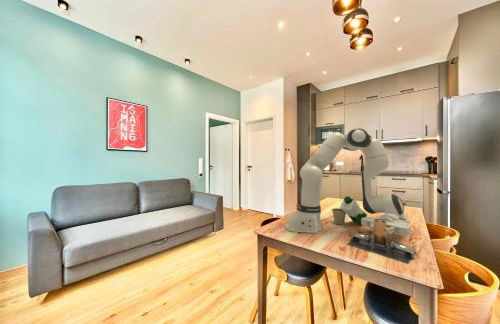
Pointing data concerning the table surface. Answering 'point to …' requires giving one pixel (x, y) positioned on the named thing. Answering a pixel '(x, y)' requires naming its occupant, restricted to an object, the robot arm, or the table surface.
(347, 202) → the milk carton
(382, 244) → the amber capped cylinder
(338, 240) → the table surface
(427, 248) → the table surface
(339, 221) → the flower pot
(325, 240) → the table surface
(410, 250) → the shaft bench
